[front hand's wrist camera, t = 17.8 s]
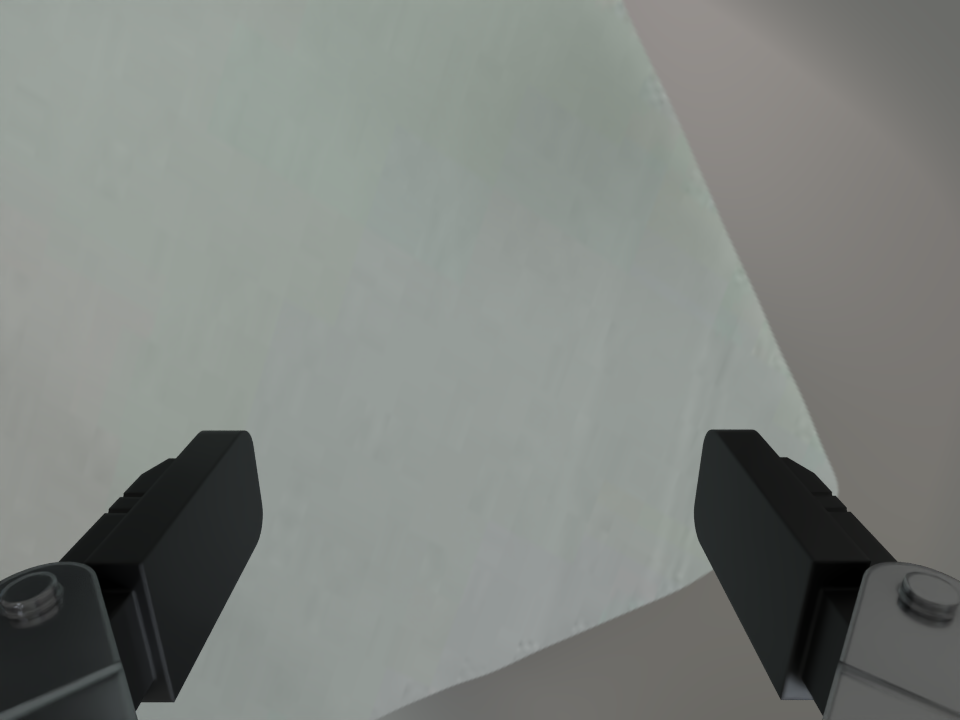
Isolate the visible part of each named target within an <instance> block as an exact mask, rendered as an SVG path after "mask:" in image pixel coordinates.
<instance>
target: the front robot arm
mask: <svg viewBox="0 0 960 720" xmlns="http://www.w3.org/2000/svg"><path fill="white" fill-rule="evenodd" d="M262 520H263V509H262V501H261V494H260V487H259V480H258V473H257V467H256V460H255V453H254V446H253V441H252V438H251V436H250V434H249V433H248V432H247V431H201V432H200V433H198V434H197V436H196V437H195V438H194V439H193V440H192V441H191V442H190V443H189V444H188V446H187V447H186V448H185V449H184V450H183V451H182V452H181V453H180V455H179V456H178V457H177V458H169V459H167V460H165V461H164V462H162V463H160V464H159V465H157V466H155V467H154V468H152V469H150V470H148V471H147V472H145V473H143V474H142V475H141V476H140V477H139V478H138V479H137V480H136V481H135V482H134V483H133V484H132V485H131V486H130V487H129V488H128V489H127V490H126V491H125V492H124V496H123V497H120V498H119V499H118V500H117V501H116V502H115V503H114V504H113V505H112V506H111V507H110V508H109V512H108V513H105V514H104V515H103V516H102V517H101V518H100V519H99V520H98V521H97V522H96V523H95V524H94V525H93V526H92V527H91V528H90V529H89V530H88V531H87V533H86V534H85V535H84V536H83V537H82V538H81V539H80V540H79V541H78V542H77V543H76V544H75V545H74V546H73V547H72V548H71V549H70V550H69V551H68V553H67V554H66V555H65V556H64V557H63V558H62V559H61V560H60V561H59V562H55V563H48V564H44V565H39V566H36V567H32V568H29V569H26V570H23V571H21V572H18V573H16V574H14V575H11V576H9V577H7V578H5V579H3V580H1V581H0V720H138V719H137V715H136V710H137V708H138V706H139V705H140V703H141V702H175V700H176V698H177V696H178V694H179V692H180V690H181V688H182V686H183V684H184V682H185V681H186V679H187V677H188V675H189V673H190V671H191V669H192V667H193V665H194V663H195V661H196V660H197V658H198V656H199V654H200V652H201V650H202V648H203V646H204V644H205V642H206V640H207V638H208V637H209V635H210V633H211V631H212V629H213V627H214V625H215V623H216V621H217V619H218V617H219V616H220V614H221V612H222V610H223V608H224V606H225V604H226V602H227V600H228V598H229V596H230V595H231V593H232V591H233V589H234V587H235V585H236V583H237V581H238V579H239V577H240V575H241V574H242V572H243V570H244V568H245V566H246V564H247V562H248V560H249V558H250V556H251V554H252V553H253V551H254V549H255V547H256V545H257V543H258V540H259V537H260V533H261V528H262ZM694 522H695V529H696V533H697V537H698V540H699V542H700V544H701V546H702V548H703V550H704V552H705V554H706V556H707V558H708V560H709V562H710V564H711V566H712V568H713V569H714V571H715V573H716V575H717V577H718V579H719V581H720V583H721V585H722V587H723V589H724V591H725V593H726V595H727V596H728V598H729V600H730V602H731V604H732V606H733V608H734V610H735V612H736V614H737V616H738V618H739V620H740V622H741V624H742V625H743V627H744V629H745V631H746V633H747V635H748V637H749V639H750V641H751V643H752V645H753V647H754V649H755V651H756V653H757V654H758V656H759V658H760V660H761V662H762V664H763V666H764V668H765V670H766V672H767V674H768V676H769V678H770V680H771V682H772V684H773V685H774V687H775V689H776V691H777V693H778V695H779V697H780V699H781V700H814V701H815V703H816V704H817V706H818V708H819V710H820V712H821V713H822V715H823V719H822V720H960V581H959V580H957V579H955V578H953V577H951V576H949V575H946V574H944V573H942V572H939V571H936V570H934V569H931V568H928V567H924V566H921V565H916V564H911V563H905V562H897V561H896V560H895V559H894V558H893V556H892V555H891V554H890V553H889V552H888V551H887V550H886V549H885V548H884V547H883V546H882V545H881V544H880V543H879V542H878V541H877V539H876V538H875V537H874V536H873V535H872V534H871V533H870V532H869V531H868V530H867V529H866V528H865V527H864V526H863V525H862V524H861V522H860V521H859V520H858V519H857V518H856V517H855V516H854V515H853V514H852V513H851V512H847V508H846V506H845V505H844V504H843V503H842V502H841V501H840V500H839V499H838V498H837V497H836V496H832V492H831V491H830V489H829V488H828V487H827V486H826V485H825V484H824V483H823V482H822V481H821V480H820V479H819V478H818V477H817V476H816V475H815V474H814V473H813V472H811V471H809V470H808V469H806V468H804V467H803V466H801V465H799V464H798V463H796V462H794V461H793V460H791V459H789V458H787V457H779V456H778V455H777V454H776V452H775V451H774V450H773V449H772V448H771V447H770V446H769V444H768V443H767V442H766V441H765V440H764V439H763V438H762V437H761V435H760V434H759V433H758V432H757V431H755V430H709V431H708V432H707V434H706V436H705V439H704V443H703V449H702V456H701V463H700V470H699V477H698V484H697V491H696V498H695V505H694Z"/></svg>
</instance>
